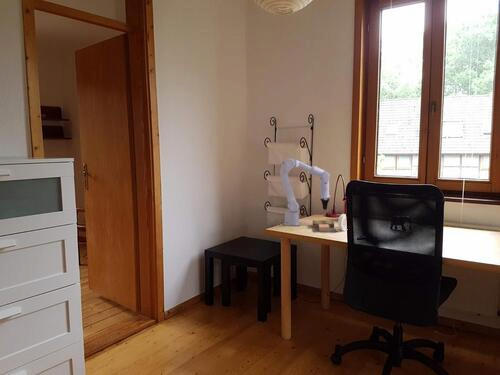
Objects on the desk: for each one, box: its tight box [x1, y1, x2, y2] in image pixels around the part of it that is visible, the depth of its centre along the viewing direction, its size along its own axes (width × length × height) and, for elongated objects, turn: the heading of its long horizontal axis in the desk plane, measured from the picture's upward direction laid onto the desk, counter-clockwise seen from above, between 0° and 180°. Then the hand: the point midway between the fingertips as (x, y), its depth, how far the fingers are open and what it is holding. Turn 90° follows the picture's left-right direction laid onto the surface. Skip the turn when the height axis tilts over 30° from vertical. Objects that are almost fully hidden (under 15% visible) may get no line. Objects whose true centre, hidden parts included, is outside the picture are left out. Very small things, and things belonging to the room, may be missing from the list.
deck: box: [312, 219, 335, 229], centre depth 250 cm, size 13×11×3 cm
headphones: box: [337, 213, 347, 232], centre depth 241 cm, size 22×2×10 cm, turn 139°
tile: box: [319, 224, 330, 231], centre depth 239 cm, size 6×9×2 cm, turn 173°
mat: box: [312, 227, 338, 233], centre depth 239 cm, size 14×10×1 cm
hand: (324, 209), depth 260 cm, fingers closed
